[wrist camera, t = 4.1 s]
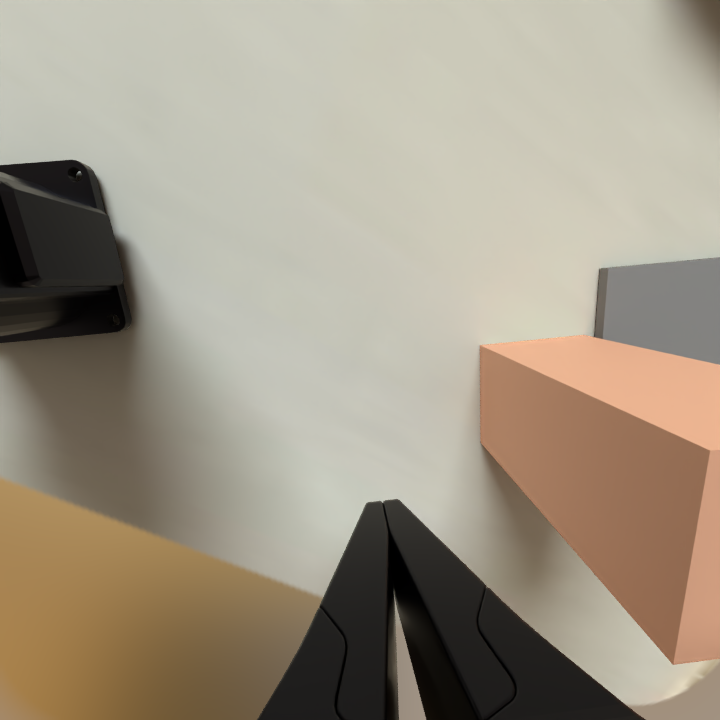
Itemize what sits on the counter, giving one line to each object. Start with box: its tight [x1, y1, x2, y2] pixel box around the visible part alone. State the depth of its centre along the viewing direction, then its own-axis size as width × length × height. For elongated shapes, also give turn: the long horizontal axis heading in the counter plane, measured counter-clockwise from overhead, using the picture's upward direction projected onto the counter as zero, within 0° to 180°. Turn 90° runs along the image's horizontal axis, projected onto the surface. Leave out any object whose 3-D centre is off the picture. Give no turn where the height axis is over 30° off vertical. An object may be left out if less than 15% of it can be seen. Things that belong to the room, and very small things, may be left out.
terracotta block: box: [480, 335, 720, 665], centre depth 11 cm, size 5×5×10 cm
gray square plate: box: [595, 258, 720, 365], centre depth 16 cm, size 11×11×1 cm
